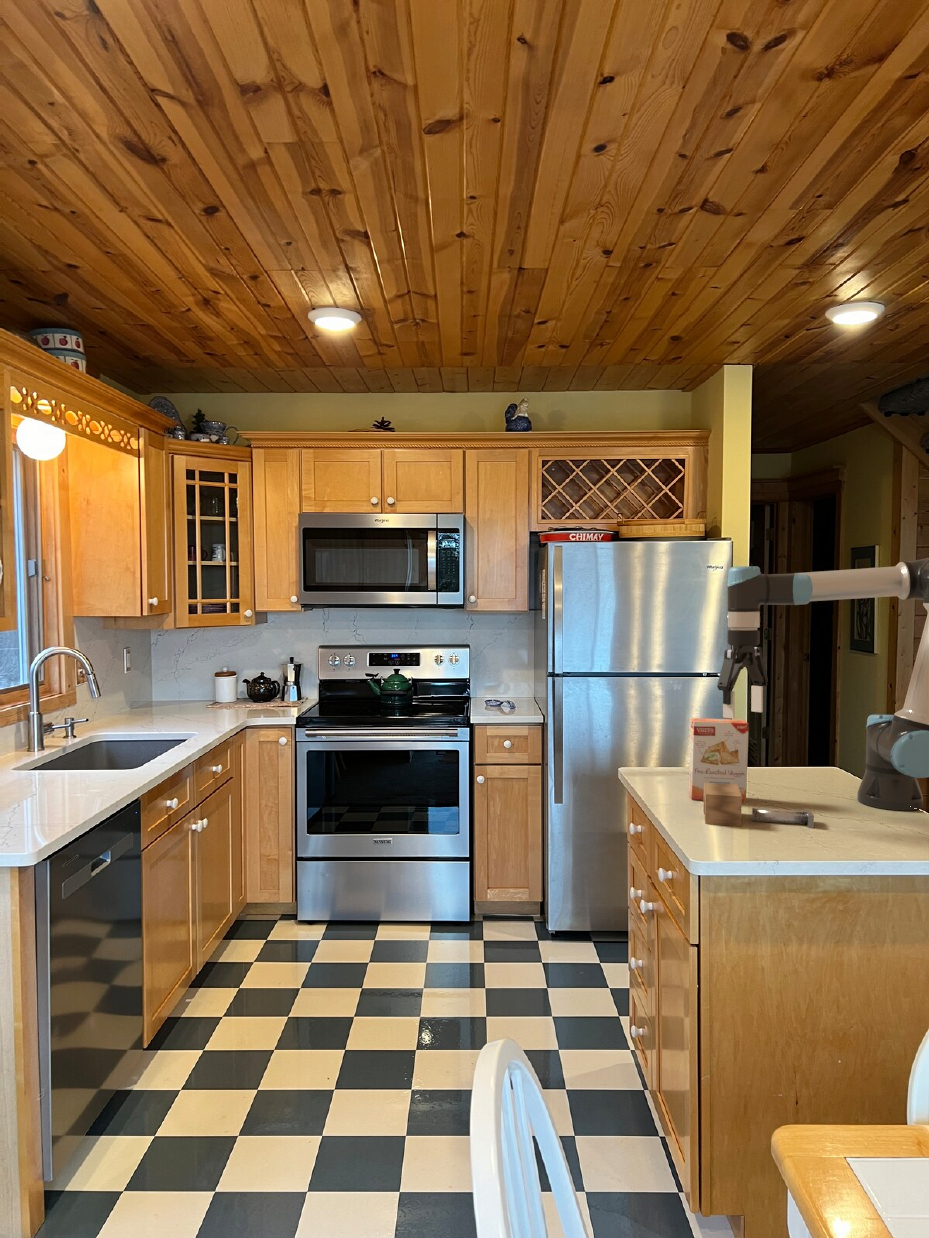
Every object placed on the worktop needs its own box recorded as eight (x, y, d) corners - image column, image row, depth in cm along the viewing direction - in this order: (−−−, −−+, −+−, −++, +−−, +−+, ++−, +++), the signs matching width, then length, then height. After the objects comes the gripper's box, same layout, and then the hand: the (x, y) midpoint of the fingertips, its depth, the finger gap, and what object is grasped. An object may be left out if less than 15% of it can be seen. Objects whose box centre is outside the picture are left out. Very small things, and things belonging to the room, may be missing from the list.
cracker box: (691, 800, 218) (693, 720, 217) (688, 795, 224) (689, 717, 223) (747, 802, 216) (749, 722, 215) (742, 797, 222) (744, 718, 221)
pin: (809, 821, 199) (809, 808, 199) (813, 828, 194) (813, 815, 193) (751, 817, 203) (751, 805, 202) (753, 824, 197) (753, 811, 197)
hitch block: (737, 812, 206) (737, 784, 206) (741, 826, 195) (741, 796, 194) (703, 810, 208) (703, 782, 208) (705, 823, 196) (705, 794, 196)
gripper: (754, 626, 218) (754, 707, 219) (702, 630, 201) (702, 718, 202) (782, 627, 212) (781, 710, 213) (731, 631, 195) (730, 722, 196)
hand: (743, 714), depth 207 cm, fingers open, 13 cm apart
